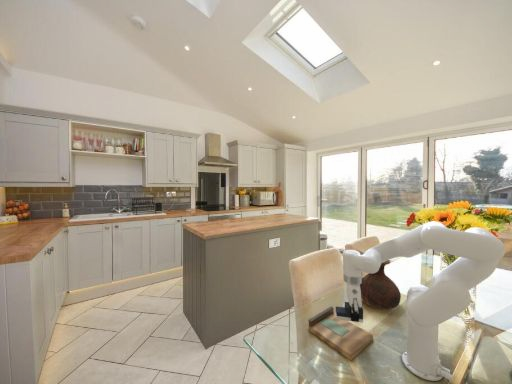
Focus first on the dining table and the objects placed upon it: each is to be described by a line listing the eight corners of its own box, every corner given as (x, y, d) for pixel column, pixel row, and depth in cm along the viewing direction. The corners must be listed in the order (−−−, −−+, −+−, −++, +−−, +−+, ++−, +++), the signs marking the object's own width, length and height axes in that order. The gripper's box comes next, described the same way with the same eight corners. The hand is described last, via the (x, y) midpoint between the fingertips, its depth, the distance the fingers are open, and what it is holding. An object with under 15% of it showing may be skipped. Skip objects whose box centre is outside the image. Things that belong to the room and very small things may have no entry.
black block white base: (360, 315, 99) (360, 303, 98) (363, 322, 94) (363, 309, 94) (335, 312, 102) (335, 300, 101) (336, 319, 97) (336, 306, 96)
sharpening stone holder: (372, 340, 97) (372, 328, 97) (351, 360, 87) (350, 347, 87) (331, 315, 115) (331, 306, 115) (308, 330, 105) (308, 319, 105)
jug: (375, 290, 139) (375, 245, 137) (409, 309, 119) (410, 256, 117) (349, 298, 131) (349, 250, 129) (381, 319, 111) (381, 263, 109)
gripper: (366, 287, 87) (367, 330, 88) (357, 270, 104) (358, 307, 105) (346, 286, 89) (347, 328, 90) (340, 269, 106) (342, 305, 106)
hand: (353, 316), depth 97 cm, fingers closed on black block white base, 5 cm apart
